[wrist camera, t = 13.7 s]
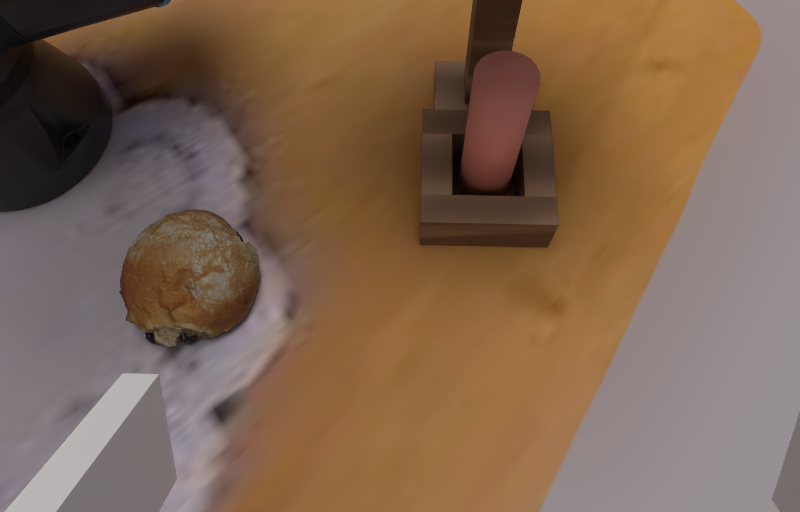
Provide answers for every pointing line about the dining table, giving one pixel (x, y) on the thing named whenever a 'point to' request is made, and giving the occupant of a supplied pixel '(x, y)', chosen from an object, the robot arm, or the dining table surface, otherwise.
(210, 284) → the bread roll
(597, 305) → the dining table surface
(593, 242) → the dining table surface
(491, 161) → the peg
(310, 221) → the dining table surface
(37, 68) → the robot arm
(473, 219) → the awning socket
